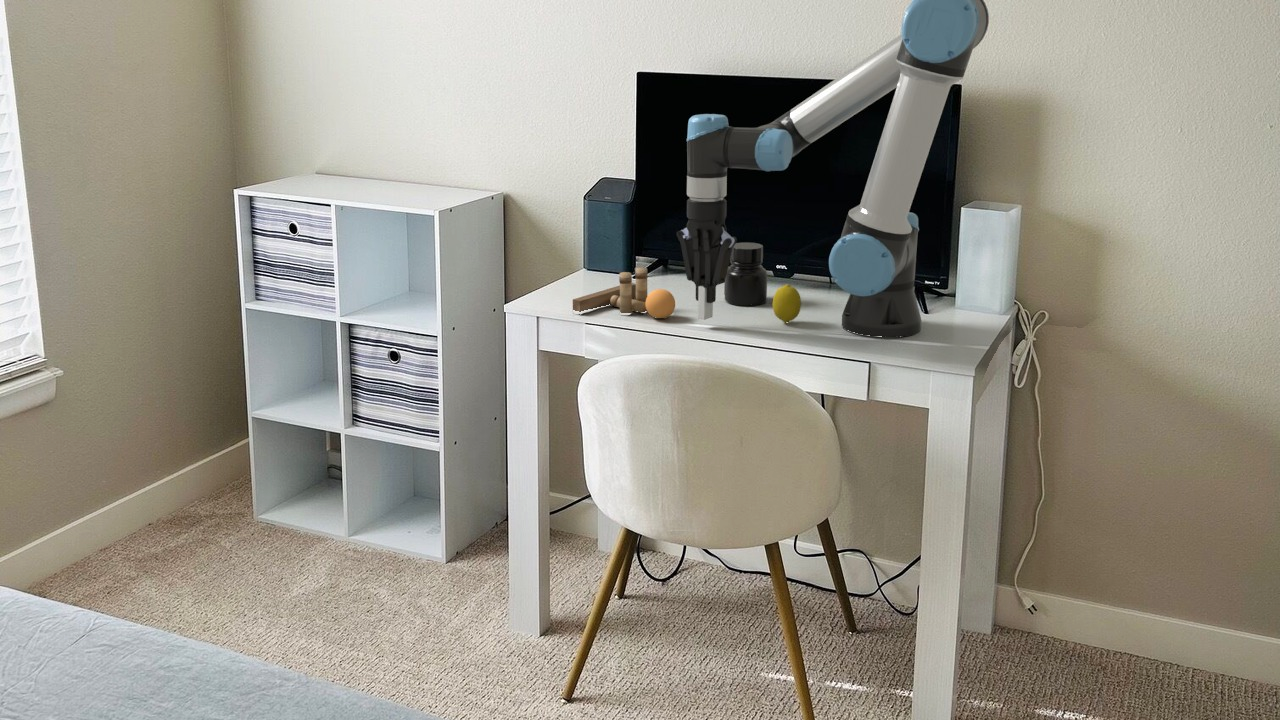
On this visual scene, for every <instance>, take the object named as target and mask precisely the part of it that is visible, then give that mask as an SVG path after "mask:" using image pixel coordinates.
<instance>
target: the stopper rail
mask: <svg viewBox="0 0 1280 720" xmlns="http://www.w3.org/2000/svg"><path fill="white" fill-rule="evenodd" d="M614 295H616V296H620V285H615V286H613V287H610V288H607V289H604V290H599V291H597V292H593V293H590V294H586V295H583V296H580V297H577V298H573V299H572V311H573V310H575V311H579V312H581V311H584V310H588V309H593V308H597V307H601V306H606V305H609V304H610V299H611V297H612V296H614ZM633 298H634V299H636V283H633V282H632V299H633ZM634 299H633V300H634Z"/></svg>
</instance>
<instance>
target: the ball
mask: <svg viewBox="0 0 1280 720" xmlns="http://www.w3.org/2000/svg"><path fill="white" fill-rule="evenodd" d="M645 305H646V309H647V313H648V314H649V315H650V316H651V317H653V318H654V317H656V318H655V319H657V318H664V319H666V317H667V318H668V317H670V316H672V314H673V313H674V311H675V308H676V300H675V296H674V294H672V293H671V292H670V291H668V290H667V289H662V288H657V289H654V290H652V291H651V292H649V293H648V294H647V298H646V303H645Z"/></svg>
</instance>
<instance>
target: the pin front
mask: <svg viewBox="0 0 1280 720" xmlns="http://www.w3.org/2000/svg"><path fill="white" fill-rule="evenodd" d="M645 303H646V302H642V301H638V300H636V299H632V312H633V311H638V312H645V311H647V309H646V305H645ZM610 305H611V307H612V306H614V307H613V308H615V307H619V308H618V309H620V296H616V295H614V296H612V297H611V299H610ZM638 312H637V313H638ZM647 312H648V311H647Z"/></svg>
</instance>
